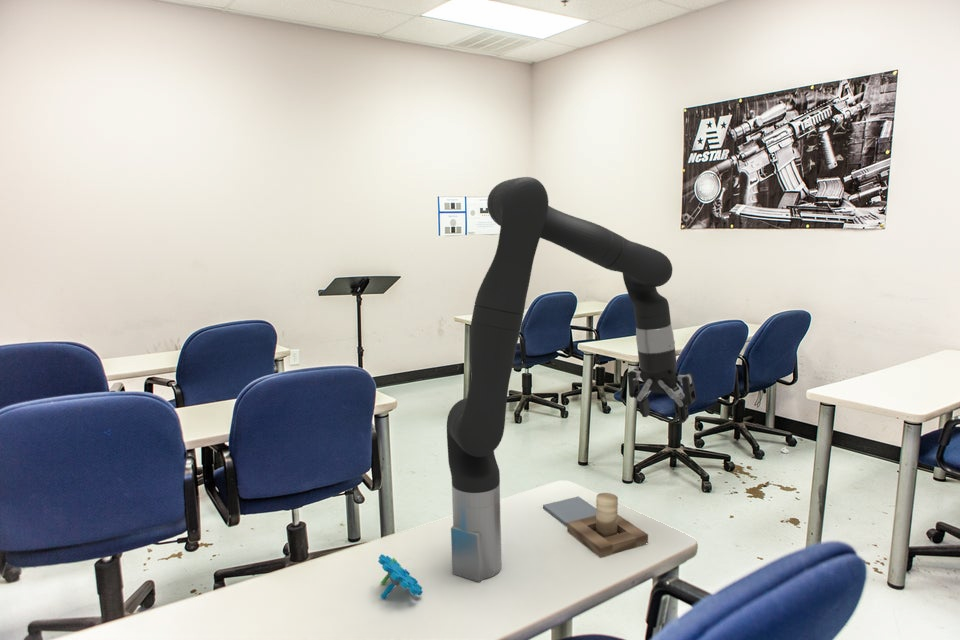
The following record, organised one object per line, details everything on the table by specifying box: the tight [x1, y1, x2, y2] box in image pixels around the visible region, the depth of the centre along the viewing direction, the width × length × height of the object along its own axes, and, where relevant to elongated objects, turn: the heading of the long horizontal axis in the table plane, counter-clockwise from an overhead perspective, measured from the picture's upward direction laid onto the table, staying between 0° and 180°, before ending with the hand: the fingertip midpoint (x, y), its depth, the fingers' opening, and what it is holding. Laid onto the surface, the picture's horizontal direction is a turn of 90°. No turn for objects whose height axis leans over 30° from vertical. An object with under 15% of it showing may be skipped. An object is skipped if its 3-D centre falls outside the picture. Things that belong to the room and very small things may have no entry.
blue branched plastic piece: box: [377, 553, 424, 600], centre depth 109 cm, size 11×6×10 cm
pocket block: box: [566, 514, 649, 558], centre depth 127 cm, size 12×12×2 cm
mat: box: [542, 495, 596, 527], centre depth 139 cm, size 10×10×1 cm
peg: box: [595, 492, 619, 538], centre depth 127 cm, size 4×4×9 cm
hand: (664, 418), depth 128 cm, fingers open, 8 cm apart
